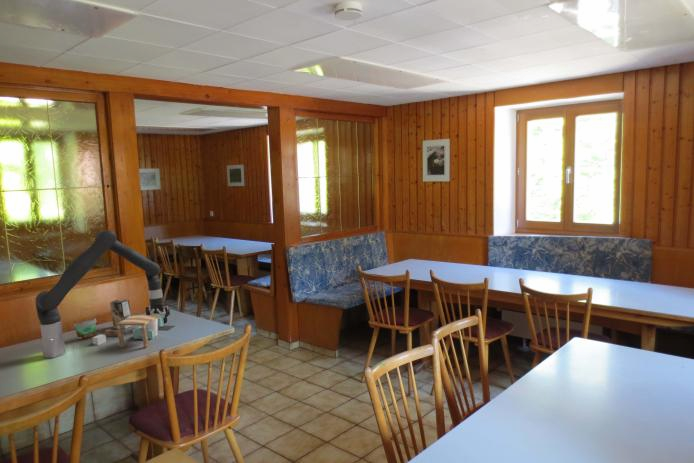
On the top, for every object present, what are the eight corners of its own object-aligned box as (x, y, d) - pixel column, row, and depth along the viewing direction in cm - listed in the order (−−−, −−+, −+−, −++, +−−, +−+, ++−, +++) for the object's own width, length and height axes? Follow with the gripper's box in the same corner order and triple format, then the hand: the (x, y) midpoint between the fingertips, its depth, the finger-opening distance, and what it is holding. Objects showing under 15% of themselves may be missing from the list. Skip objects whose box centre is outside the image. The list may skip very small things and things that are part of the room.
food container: (80, 342, 273) (78, 324, 272) (75, 340, 277) (73, 323, 276) (102, 335, 283) (100, 318, 281) (97, 333, 286) (95, 317, 285)
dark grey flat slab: (168, 330, 284) (168, 329, 284) (157, 330, 286) (157, 329, 286) (174, 326, 291) (174, 325, 291) (163, 326, 292) (163, 325, 292)
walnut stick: (124, 335, 281) (124, 330, 281) (121, 336, 279) (121, 331, 278) (108, 334, 285) (107, 329, 285) (105, 335, 283) (104, 330, 282)
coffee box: (133, 325, 298) (129, 299, 296) (125, 328, 292) (122, 302, 290) (120, 325, 301) (117, 299, 299) (112, 328, 295) (109, 302, 293)
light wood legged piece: (147, 347, 256) (144, 323, 255) (119, 347, 259) (116, 323, 258) (162, 338, 270) (159, 315, 269) (136, 338, 273) (133, 315, 272)
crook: (152, 339, 270) (151, 330, 269) (133, 338, 273) (132, 330, 272) (176, 326, 291) (175, 317, 291) (158, 325, 294) (157, 317, 294)
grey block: (98, 345, 266) (97, 338, 266) (93, 344, 268) (92, 337, 268) (106, 342, 271) (105, 334, 270) (101, 341, 273) (100, 334, 272)
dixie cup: (155, 338, 271) (153, 320, 270) (141, 338, 272) (138, 320, 271) (162, 332, 280) (160, 315, 278) (148, 333, 281) (146, 316, 279)
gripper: (141, 298, 288) (144, 325, 290) (163, 298, 286) (166, 325, 288) (148, 295, 296) (151, 321, 298) (170, 294, 293) (173, 321, 295)
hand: (159, 323), depth 293 cm, fingers open, 8 cm apart
